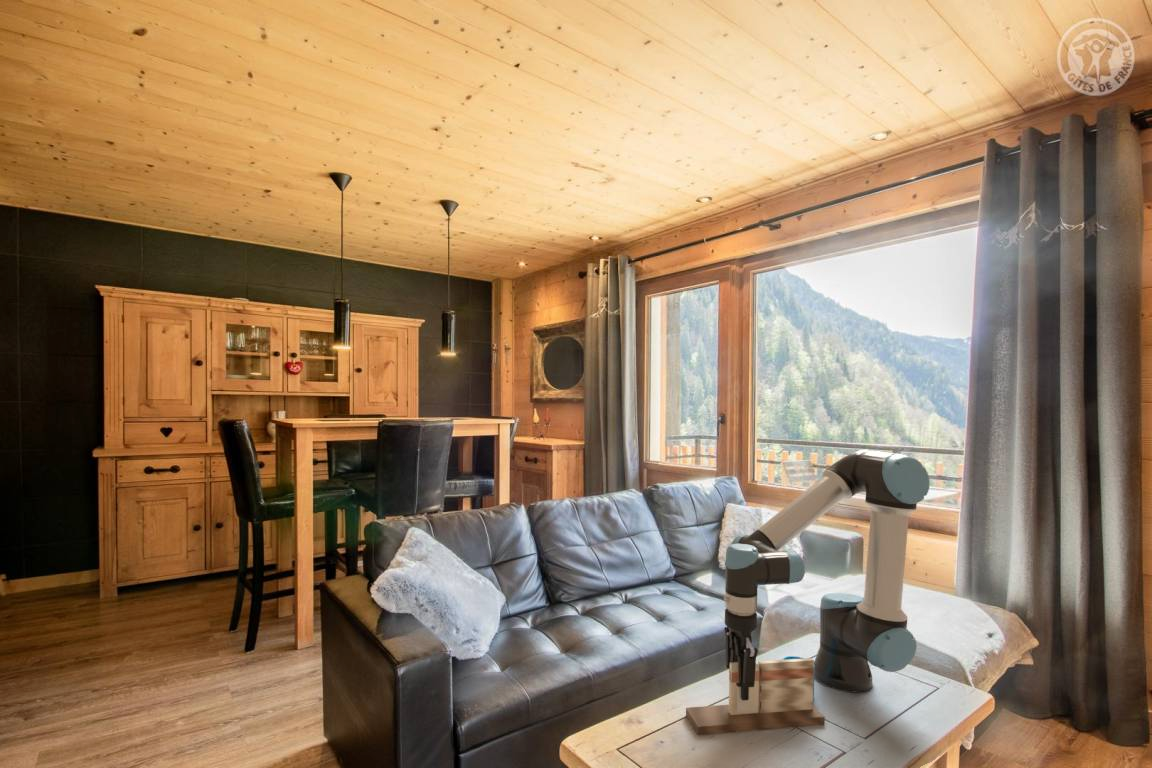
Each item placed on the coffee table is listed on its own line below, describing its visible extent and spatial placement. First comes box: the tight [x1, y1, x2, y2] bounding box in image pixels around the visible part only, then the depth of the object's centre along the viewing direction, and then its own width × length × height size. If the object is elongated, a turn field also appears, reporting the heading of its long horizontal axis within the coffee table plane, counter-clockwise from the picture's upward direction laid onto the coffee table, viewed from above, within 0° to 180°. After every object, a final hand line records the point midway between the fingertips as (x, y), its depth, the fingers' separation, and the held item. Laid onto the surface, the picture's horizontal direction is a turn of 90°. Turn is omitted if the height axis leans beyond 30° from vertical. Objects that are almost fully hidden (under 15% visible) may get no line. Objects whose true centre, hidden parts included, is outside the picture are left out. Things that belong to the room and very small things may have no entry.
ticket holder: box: [685, 657, 826, 736], centre depth 140 cm, size 32×8×14 cm, turn 99°
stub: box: [728, 660, 759, 715], centre depth 140 cm, size 7×1×12 cm, turn 99°
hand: (739, 706), depth 139 cm, fingers open, 3 cm apart
